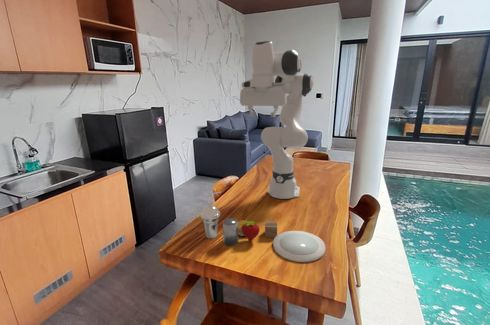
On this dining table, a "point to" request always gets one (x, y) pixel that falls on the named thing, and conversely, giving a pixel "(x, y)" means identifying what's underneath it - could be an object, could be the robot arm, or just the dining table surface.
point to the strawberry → (250, 230)
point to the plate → (299, 246)
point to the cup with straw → (210, 218)
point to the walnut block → (270, 229)
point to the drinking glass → (230, 231)
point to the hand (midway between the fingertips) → (262, 116)
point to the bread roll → (241, 227)
